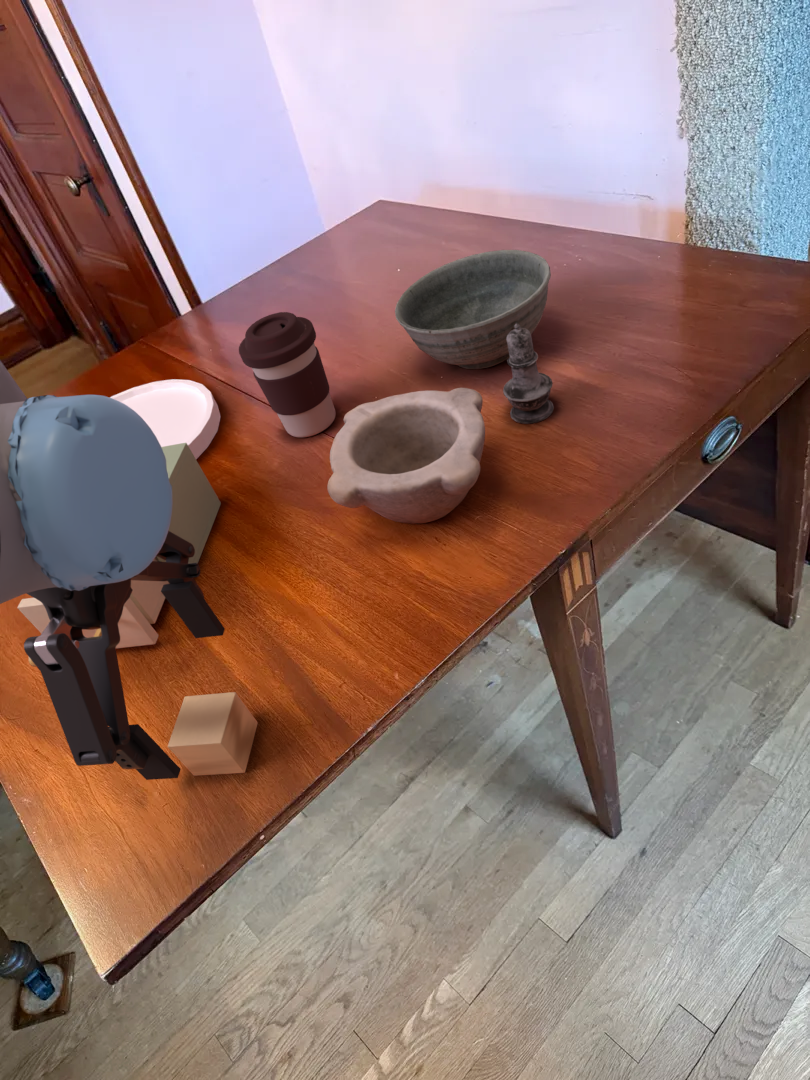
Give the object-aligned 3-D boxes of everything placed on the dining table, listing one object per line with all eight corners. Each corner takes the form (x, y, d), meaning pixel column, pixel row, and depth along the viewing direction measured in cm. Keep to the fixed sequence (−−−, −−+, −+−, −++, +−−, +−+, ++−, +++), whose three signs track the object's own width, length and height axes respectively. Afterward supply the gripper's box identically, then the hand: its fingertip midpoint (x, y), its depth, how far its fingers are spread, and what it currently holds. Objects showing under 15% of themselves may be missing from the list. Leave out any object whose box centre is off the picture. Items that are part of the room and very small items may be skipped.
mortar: (494, 543, 77) (477, 475, 71) (340, 556, 81) (312, 494, 75) (501, 443, 88) (487, 377, 82) (367, 459, 93) (344, 398, 87)
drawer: (138, 686, 74) (96, 637, 69) (40, 695, 77) (-8, 649, 72) (192, 551, 87) (160, 502, 82) (106, 563, 90) (70, 516, 85)
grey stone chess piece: (555, 393, 93) (542, 305, 85) (556, 421, 88) (543, 331, 80) (508, 400, 94) (491, 314, 86) (507, 428, 90) (489, 341, 82)
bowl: (553, 386, 94) (542, 315, 87) (397, 402, 101) (376, 337, 94) (565, 304, 107) (556, 236, 101) (427, 323, 114) (411, 261, 108)
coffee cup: (267, 447, 101) (220, 351, 91) (291, 404, 108) (249, 310, 98) (334, 442, 98) (292, 342, 88) (354, 398, 104) (318, 300, 94)
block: (245, 773, 65) (220, 742, 61) (193, 776, 66) (167, 746, 63) (258, 722, 68) (235, 691, 65) (209, 726, 69) (184, 696, 66)
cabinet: (187, 590, 84) (144, 528, 78) (89, 602, 87) (41, 544, 81) (221, 503, 95) (186, 442, 88) (133, 517, 98) (93, 459, 91)
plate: (242, 446, 103) (234, 432, 101) (50, 542, 99) (40, 528, 97) (197, 371, 124) (190, 358, 122) (37, 448, 119) (28, 435, 117)
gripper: (-5, 672, 38) (186, 846, 52) (151, 394, 56) (262, 581, 70) (-121, 685, 40) (94, 849, 54) (65, 411, 58) (190, 590, 72)
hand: (189, 698), depth 62 cm, fingers open, 13 cm apart
